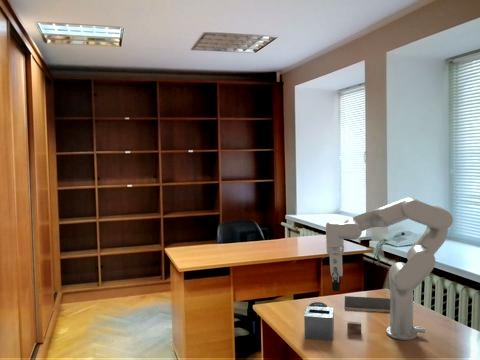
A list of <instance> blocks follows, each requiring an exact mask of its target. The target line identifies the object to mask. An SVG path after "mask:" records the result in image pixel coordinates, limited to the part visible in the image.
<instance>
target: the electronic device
mask: <svg viewBox="0 0 480 360" xmlns="http://www.w3.org/2000/svg"><path fill="white" fill-rule="evenodd" d="M308 306H316V307H328V305H327V304H326V303H324V302H319V301H316V302H311V303H310V304H309V305H308Z"/></svg>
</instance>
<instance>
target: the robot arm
mask: <svg viewBox="0 0 480 360" xmlns="http://www.w3.org/2000/svg"><path fill="white" fill-rule="evenodd" d="M406 220H411V221H414V222H415V223H418V224H420V225H423V226H426V229H425V231H424V232H423V233H422V234H421V236H420V237H419V238H418V239H417V241H415V242H414V244H413V245H412V246H411V247H410V248H409V249H408V250H407V253H406V258H407V262H406V263H405V262H403V261H402V262H401V261H399V262H395V263H393V264H392V265H391V266H390V267H389V270H388V280H389V281H388V283H389V299H390V312H389V326H388V327H387V328H386V329H385V331H386V334H387V336H389V337H391V338H393V339H396V340H400V341H411V340H414V339H417V337H418V333H421V334H425V333H426V329H425V327H422V326H421V325H420V326H419V325H414V290H415V289H416V288H417V287H418V286H419V285H420V284H421V283H423V281H424V280H425V279H426V278H427V277H428V276H429V275H430V274H431V273H432V271H433V269H434V268H435V266H436V258H435V255H436V253H437V252H438V251H439V250H440V248H441V247H442V246H443V244H444V243H445V241H446V239H447V238H448V232H449V228H450V227H451V226H452V225H453V223H454V222H453V216H452V214H451V212H450V211H448V210H447V209H445V208H443V207H441V206H439V205H438V206H437V205H431V204H428V203H425V202H423V201H420V200H418V199H417V198H414V197H411V196H410V197H405V198H403V199H400V200H397V201H395V202H392V203H389V204H387V205H384V206H382V207H379V208H376V209H372V210H370V211H366V212H362V213H361V214H357V215H355V216H352V217H350V218H348V219H346V220H345V221H344V222H343V223H342V222H341V221H328V222H326V224H325V237H326V238H325V239H326V242H325V243H326V254H328V255H329V268H330V269H329V270H330V276H331V277H332V278H331V279H332V281H331V288H332V289H331V290H332V291H333V292H340V291H341V283H342V282H341V281H342V280H341V278H342V277H343V275H344V274H343V273H344V271H343V270H344V269H343V254H345V246H344V240H358V239H359V238H360V237H361V236H362V232H363V231H366V230H369V229H373V228H387V227H391V226H393V225H396V224H398V223H400V222H403V221H406Z"/></svg>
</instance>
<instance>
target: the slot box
mask: <svg viewBox="0 0 480 360" xmlns="http://www.w3.org/2000/svg"><path fill="white" fill-rule="evenodd" d="M334 308H335V307H329V306H327V307H316V306H309V305H306V309H305V312H304V315H303V319H304V322H303V323H304V325H303V327H304V339H306V340H307V339H310V340H321V341H332V342H333V341H334V333H335V331H334V330H335V317H334V315H335V313H334V312H335V311H334V310H335V309H334Z"/></svg>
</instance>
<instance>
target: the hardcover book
mask: <svg viewBox="0 0 480 360" xmlns="http://www.w3.org/2000/svg"><path fill="white" fill-rule="evenodd" d="M344 310H346V311H347V310H350V311H360V312H361V311H365V312H366V311H367V312H377V313H379V312H381V313H390V297H388V298H387V297H369V296H351V295H349V296H348V295H345V296H344Z"/></svg>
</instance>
